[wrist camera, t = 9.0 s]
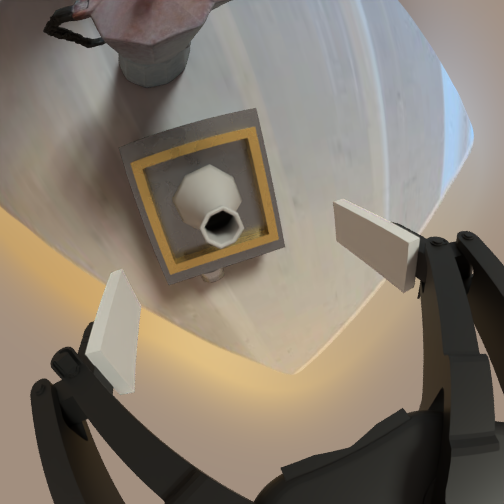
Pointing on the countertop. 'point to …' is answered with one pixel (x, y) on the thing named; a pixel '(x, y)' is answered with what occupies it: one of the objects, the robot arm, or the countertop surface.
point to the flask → (210, 205)
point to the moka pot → (139, 33)
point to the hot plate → (187, 161)
